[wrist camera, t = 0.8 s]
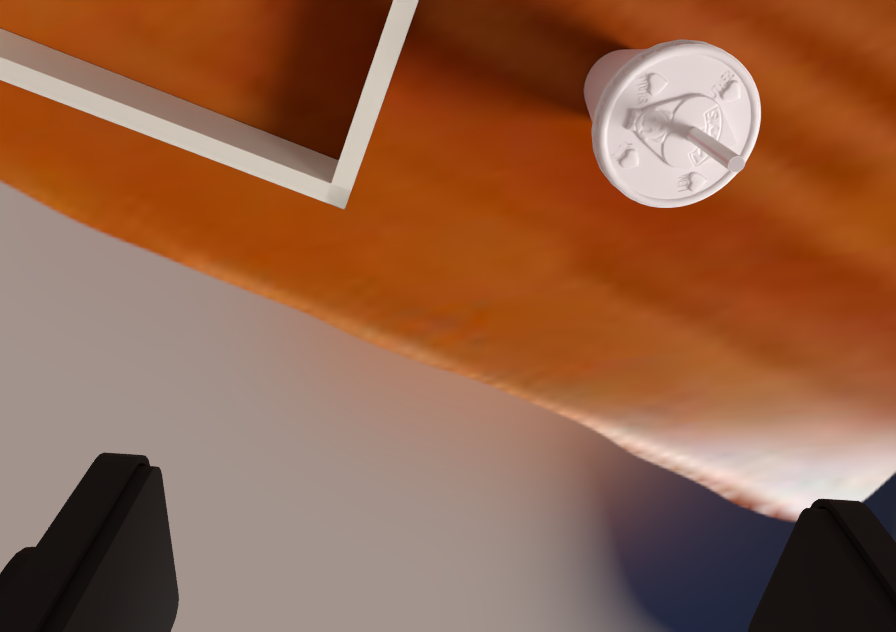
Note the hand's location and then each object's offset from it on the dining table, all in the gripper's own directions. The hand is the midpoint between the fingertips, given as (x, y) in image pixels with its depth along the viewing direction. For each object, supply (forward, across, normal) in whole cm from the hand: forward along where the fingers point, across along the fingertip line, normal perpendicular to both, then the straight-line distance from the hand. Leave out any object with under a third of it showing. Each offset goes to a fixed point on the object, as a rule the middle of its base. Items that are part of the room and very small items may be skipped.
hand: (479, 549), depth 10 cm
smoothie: (+29, -8, -2) cm, 30 cm away
